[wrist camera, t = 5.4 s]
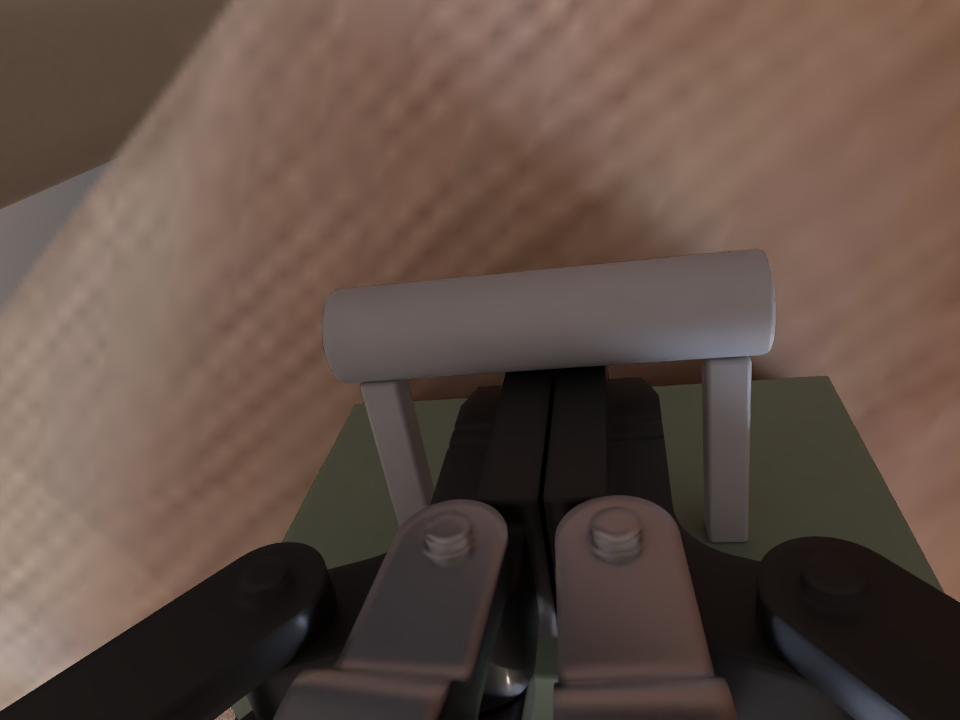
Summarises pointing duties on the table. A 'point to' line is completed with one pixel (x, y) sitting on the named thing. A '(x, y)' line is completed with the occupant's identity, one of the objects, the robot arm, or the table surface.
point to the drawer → (598, 342)
